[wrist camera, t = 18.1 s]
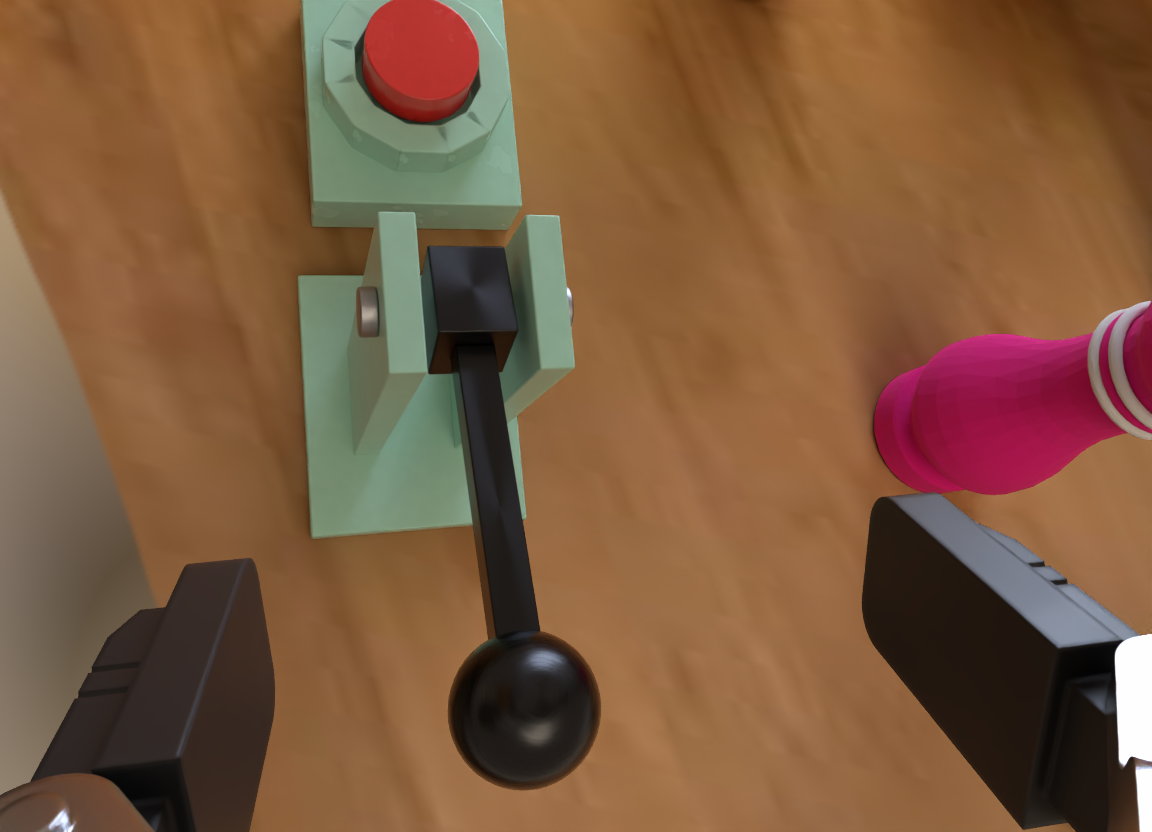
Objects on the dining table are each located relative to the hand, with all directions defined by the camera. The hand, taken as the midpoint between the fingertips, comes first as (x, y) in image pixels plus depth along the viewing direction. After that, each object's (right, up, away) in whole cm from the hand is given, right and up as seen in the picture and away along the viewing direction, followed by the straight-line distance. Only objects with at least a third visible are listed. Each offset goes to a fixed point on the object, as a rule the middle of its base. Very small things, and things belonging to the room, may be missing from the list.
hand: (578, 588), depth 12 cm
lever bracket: (-7, +3, +26) cm, 27 cm away
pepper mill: (+17, +1, +34) cm, 38 cm away
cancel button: (-6, +16, +25) cm, 30 cm away
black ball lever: (-3, -1, +13) cm, 14 cm away
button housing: (-8, +15, +29) cm, 33 cm away
